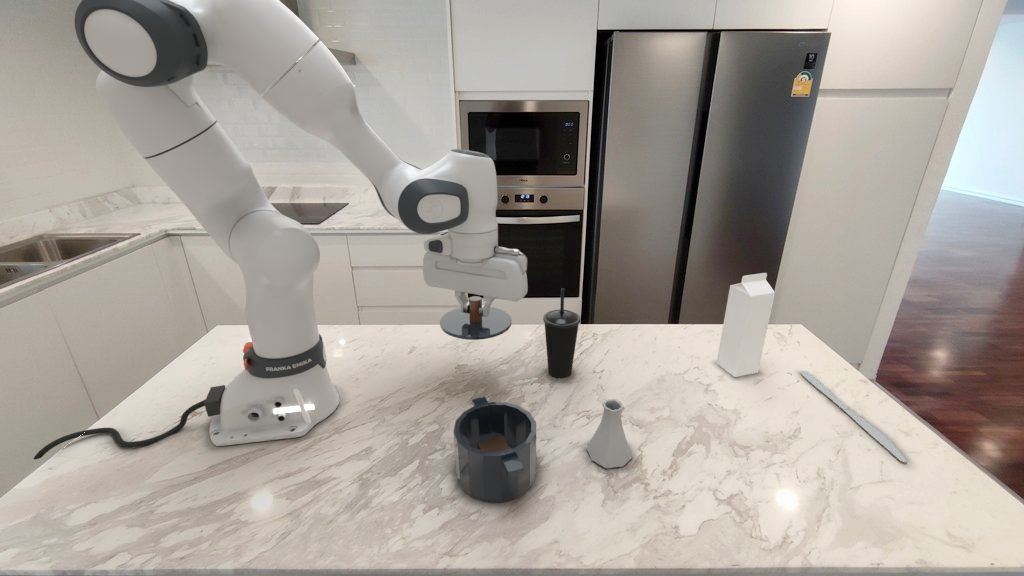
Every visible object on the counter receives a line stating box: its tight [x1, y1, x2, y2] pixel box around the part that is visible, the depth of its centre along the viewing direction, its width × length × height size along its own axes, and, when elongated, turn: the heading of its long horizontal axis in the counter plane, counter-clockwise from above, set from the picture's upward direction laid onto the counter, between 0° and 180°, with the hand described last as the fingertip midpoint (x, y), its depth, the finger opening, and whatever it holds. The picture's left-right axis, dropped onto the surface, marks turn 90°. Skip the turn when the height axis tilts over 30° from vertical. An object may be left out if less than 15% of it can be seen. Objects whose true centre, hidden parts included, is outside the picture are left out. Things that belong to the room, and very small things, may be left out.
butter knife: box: [800, 370, 908, 464], centre depth 90 cm, size 1×27×3 cm
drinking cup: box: [542, 287, 582, 380], centre depth 100 cm, size 8×8×20 cm
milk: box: [716, 272, 776, 378], centre depth 101 cm, size 6×6×22 cm
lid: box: [439, 295, 513, 341], centre depth 91 cm, size 14×14×6 cm
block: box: [478, 436, 511, 452], centre depth 76 cm, size 4×4×4 cm
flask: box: [586, 398, 633, 469], centre depth 79 cm, size 7×7×10 cm
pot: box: [452, 396, 537, 504], centre depth 76 cm, size 13×18×9 cm
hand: (475, 313), depth 91 cm, fingers closed on lid, 2 cm apart
